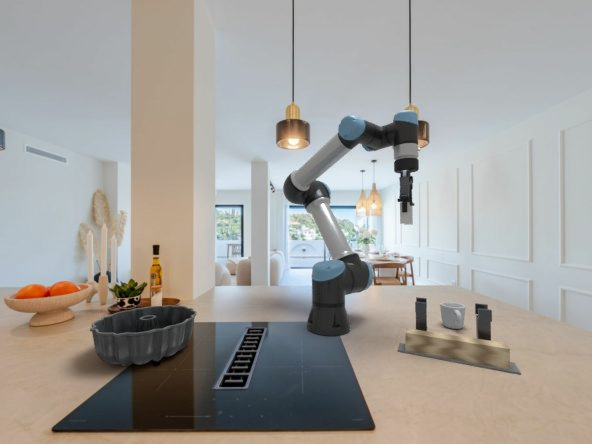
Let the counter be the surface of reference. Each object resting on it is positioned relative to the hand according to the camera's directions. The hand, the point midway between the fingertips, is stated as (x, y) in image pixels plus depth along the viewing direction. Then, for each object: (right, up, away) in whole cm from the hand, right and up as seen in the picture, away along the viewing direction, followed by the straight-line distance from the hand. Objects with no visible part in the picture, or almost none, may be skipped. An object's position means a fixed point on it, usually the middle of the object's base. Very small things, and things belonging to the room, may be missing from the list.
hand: (406, 224), depth 89 cm
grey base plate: (+7, -36, -15) cm, 40 cm away
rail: (+7, -36, -15) cm, 39 cm away
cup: (+20, -37, +8) cm, 43 cm away
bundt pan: (-79, -37, -11) cm, 88 cm away
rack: (+10, -37, -8) cm, 39 cm away
